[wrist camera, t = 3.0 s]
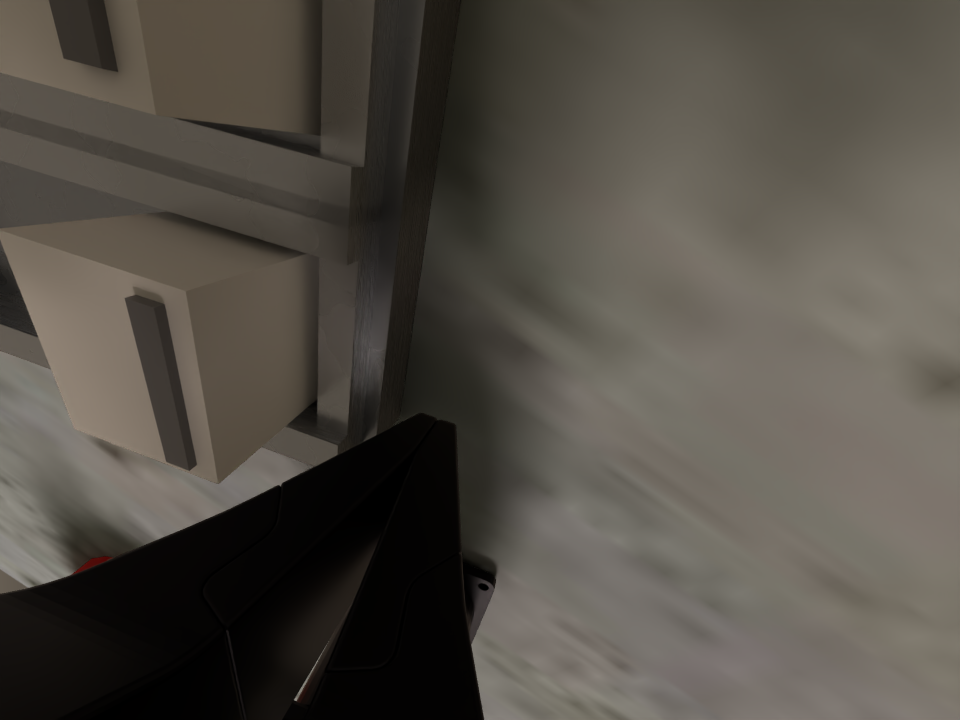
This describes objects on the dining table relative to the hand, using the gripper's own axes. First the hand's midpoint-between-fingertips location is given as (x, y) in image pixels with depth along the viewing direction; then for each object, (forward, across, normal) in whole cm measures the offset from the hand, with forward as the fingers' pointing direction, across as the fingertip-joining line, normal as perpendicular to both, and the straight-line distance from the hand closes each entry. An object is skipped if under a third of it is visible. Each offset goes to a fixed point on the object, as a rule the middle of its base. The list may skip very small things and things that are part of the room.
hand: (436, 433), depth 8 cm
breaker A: (+3, +6, 0) cm, 7 cm away
